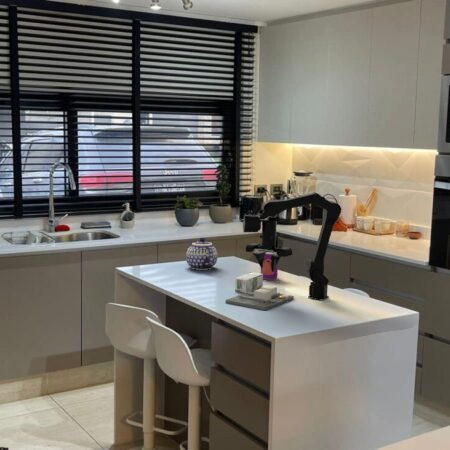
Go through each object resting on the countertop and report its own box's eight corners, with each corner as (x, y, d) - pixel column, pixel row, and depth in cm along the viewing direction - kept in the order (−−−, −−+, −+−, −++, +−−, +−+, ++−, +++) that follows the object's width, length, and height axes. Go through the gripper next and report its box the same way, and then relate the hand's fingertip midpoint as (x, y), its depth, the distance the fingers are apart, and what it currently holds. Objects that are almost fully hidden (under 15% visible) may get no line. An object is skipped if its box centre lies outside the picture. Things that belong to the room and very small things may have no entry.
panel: (293, 299, 281) (293, 293, 281) (265, 310, 263) (265, 304, 263) (255, 292, 291) (255, 287, 291) (225, 302, 273) (225, 297, 273)
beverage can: (265, 275, 322) (265, 250, 321) (280, 278, 319) (281, 252, 317) (257, 278, 316) (258, 252, 314) (272, 281, 312) (273, 254, 310)
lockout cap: (275, 273, 281) (275, 259, 280) (269, 275, 277) (270, 261, 276) (266, 272, 283) (266, 258, 282) (260, 273, 279) (260, 259, 279)
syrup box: (251, 271, 303) (234, 277, 291) (263, 273, 300) (246, 279, 288) (251, 284, 304) (233, 291, 292) (263, 286, 301) (246, 293, 289)
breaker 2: (276, 295, 281) (276, 286, 281) (271, 297, 278) (271, 288, 277) (266, 293, 284) (266, 285, 284) (260, 295, 281) (260, 287, 280)
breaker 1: (270, 299, 275) (271, 290, 274) (265, 301, 271) (265, 292, 271) (260, 297, 278) (260, 288, 277) (254, 299, 274) (254, 290, 274)
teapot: (225, 272, 328) (225, 241, 326) (194, 274, 323) (195, 243, 321) (208, 262, 351) (208, 232, 349) (179, 263, 346) (179, 234, 344)
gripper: (299, 232, 279) (298, 270, 281) (259, 227, 289) (258, 264, 292) (285, 235, 270) (284, 275, 272) (244, 231, 280) (244, 269, 283)
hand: (268, 271), depth 280 cm, fingers closed on lockout cap, 4 cm apart
